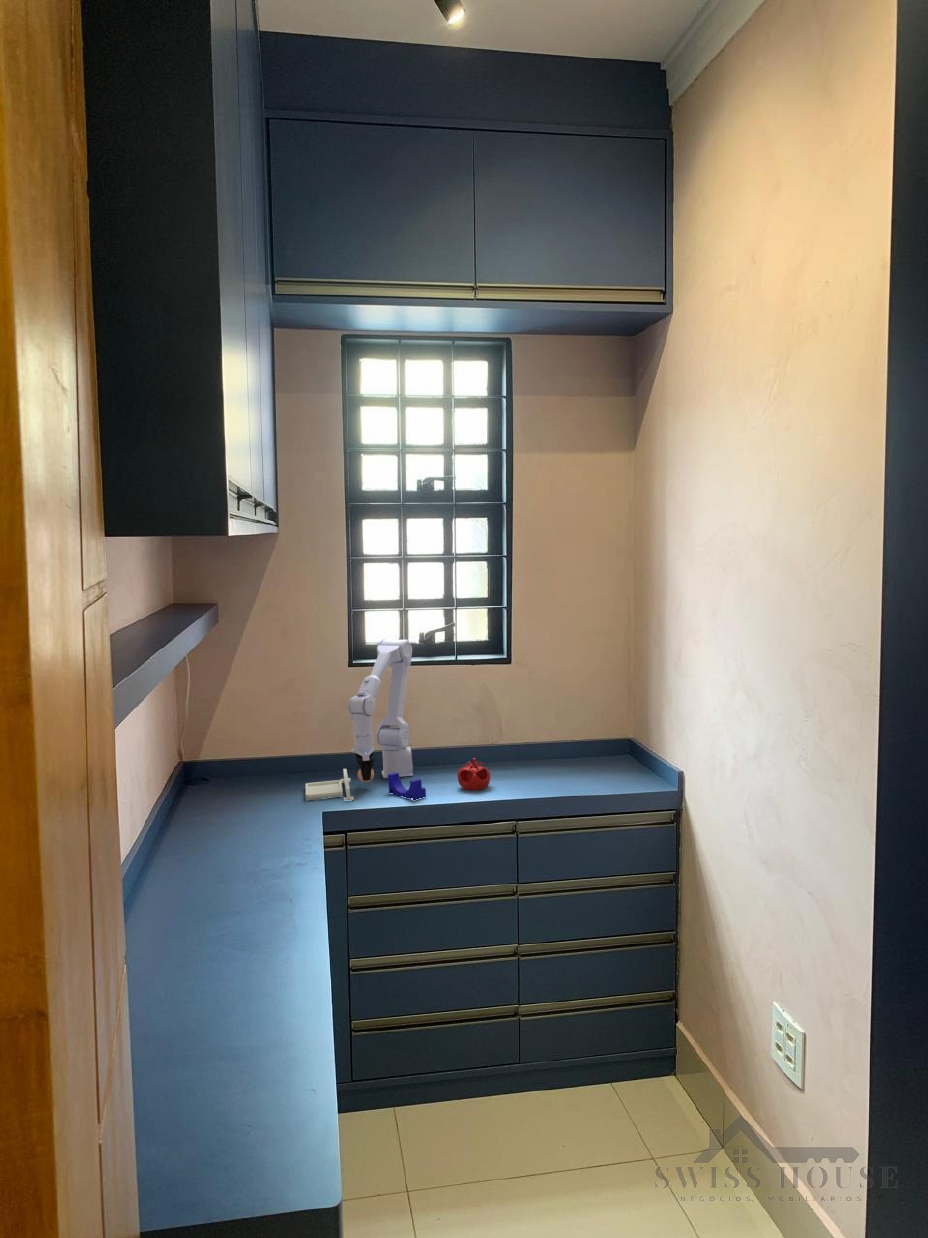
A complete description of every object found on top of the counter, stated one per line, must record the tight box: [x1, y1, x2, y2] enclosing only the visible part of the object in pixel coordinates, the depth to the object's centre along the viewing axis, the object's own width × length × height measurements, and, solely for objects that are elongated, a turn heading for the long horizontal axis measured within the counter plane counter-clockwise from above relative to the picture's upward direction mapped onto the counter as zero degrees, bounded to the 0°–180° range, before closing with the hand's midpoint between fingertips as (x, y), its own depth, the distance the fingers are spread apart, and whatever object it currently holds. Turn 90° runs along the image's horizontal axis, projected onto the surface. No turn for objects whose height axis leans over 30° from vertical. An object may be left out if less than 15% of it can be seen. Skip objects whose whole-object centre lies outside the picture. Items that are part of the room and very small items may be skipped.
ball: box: [357, 768, 375, 784], centre depth 270 cm, size 5×5×5 cm
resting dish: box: [305, 779, 344, 802], centre depth 268 cm, size 11×13×2 cm
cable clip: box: [387, 773, 427, 800], centre depth 261 cm, size 12×4×6 cm, turn 43°
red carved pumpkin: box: [456, 757, 491, 792], centre depth 266 cm, size 10×10×9 cm
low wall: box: [340, 768, 355, 801], centre depth 269 cm, size 3×22×4 cm, turn 10°
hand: (366, 777), depth 270 cm, fingers closed on ball, 5 cm apart
